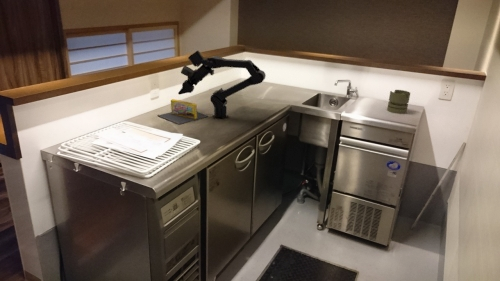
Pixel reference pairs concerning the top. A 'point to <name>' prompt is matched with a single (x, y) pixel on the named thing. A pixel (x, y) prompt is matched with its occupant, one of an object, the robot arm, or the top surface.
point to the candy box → (184, 108)
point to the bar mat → (180, 118)
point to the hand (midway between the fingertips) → (180, 90)
